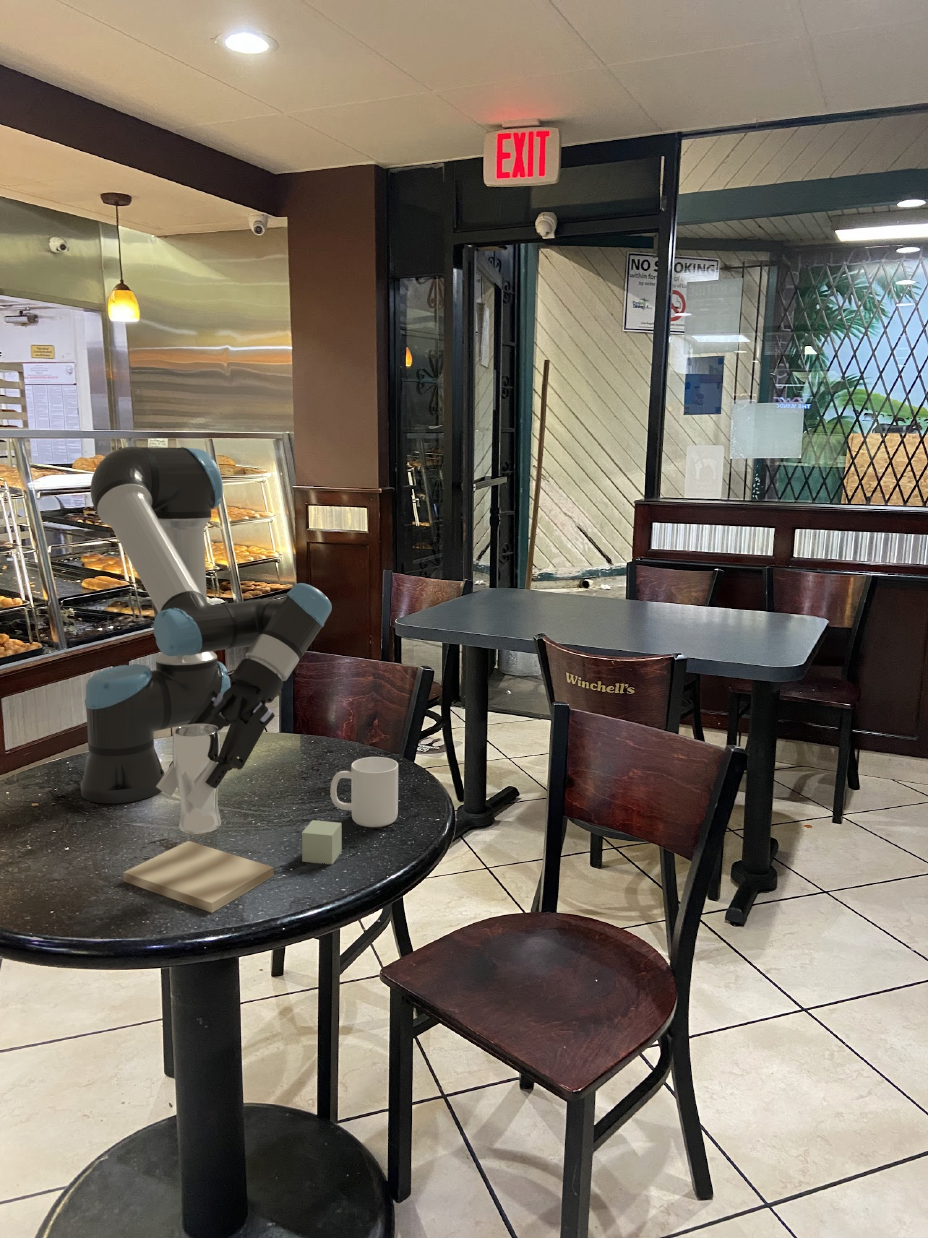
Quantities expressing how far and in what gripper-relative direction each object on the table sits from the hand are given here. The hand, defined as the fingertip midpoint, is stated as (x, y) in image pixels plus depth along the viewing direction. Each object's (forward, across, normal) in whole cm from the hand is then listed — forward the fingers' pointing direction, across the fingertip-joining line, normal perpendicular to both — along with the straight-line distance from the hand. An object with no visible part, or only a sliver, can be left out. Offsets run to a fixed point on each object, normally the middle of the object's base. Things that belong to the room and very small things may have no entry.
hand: (178, 797), depth 129 cm
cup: (-15, -2, -36) cm, 39 cm away
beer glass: (+2, 0, -6) cm, 7 cm away
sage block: (-5, -7, -25) cm, 27 cm away
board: (+8, +1, -13) cm, 15 cm away
